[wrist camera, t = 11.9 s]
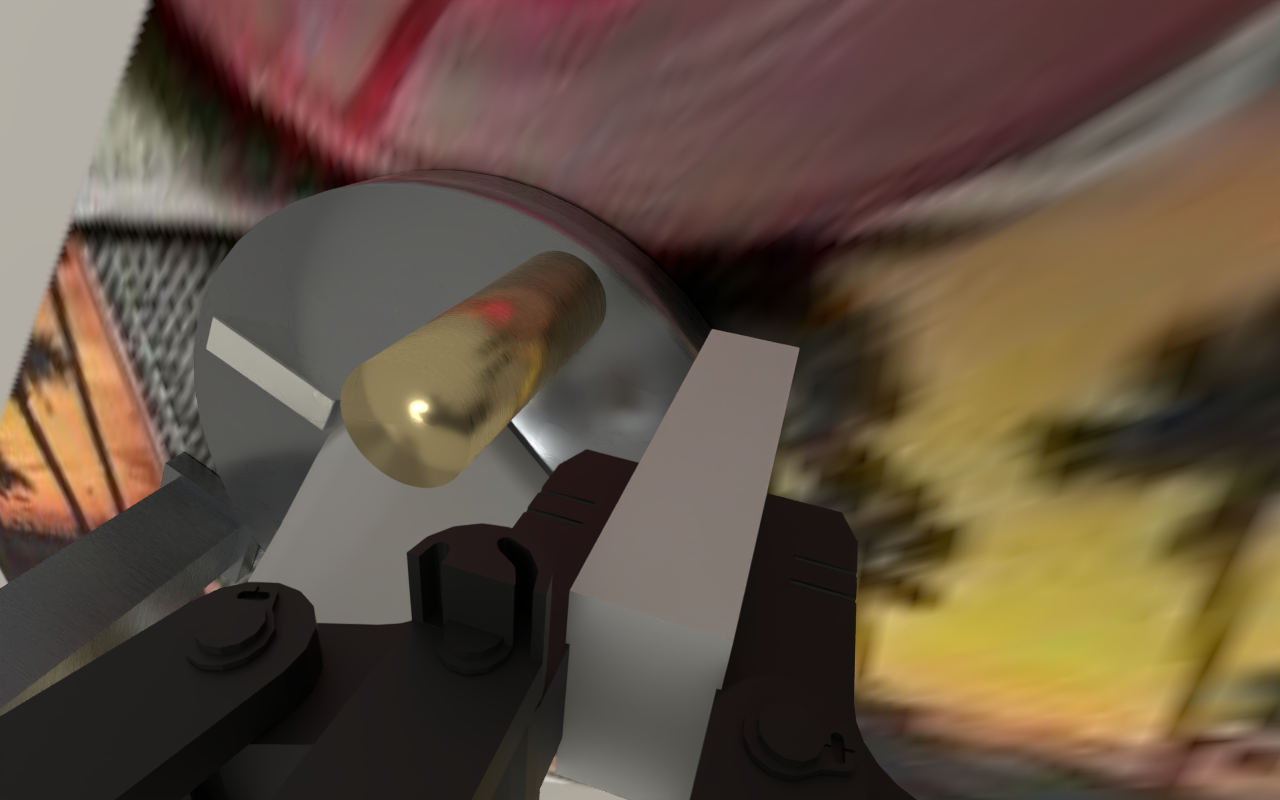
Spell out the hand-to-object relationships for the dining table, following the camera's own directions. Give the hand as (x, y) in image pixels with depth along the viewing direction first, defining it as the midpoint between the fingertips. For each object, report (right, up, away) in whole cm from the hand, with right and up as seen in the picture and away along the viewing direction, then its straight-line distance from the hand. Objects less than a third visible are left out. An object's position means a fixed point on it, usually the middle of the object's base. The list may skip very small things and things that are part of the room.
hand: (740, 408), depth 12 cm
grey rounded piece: (-6, -1, +9) cm, 11 cm away
